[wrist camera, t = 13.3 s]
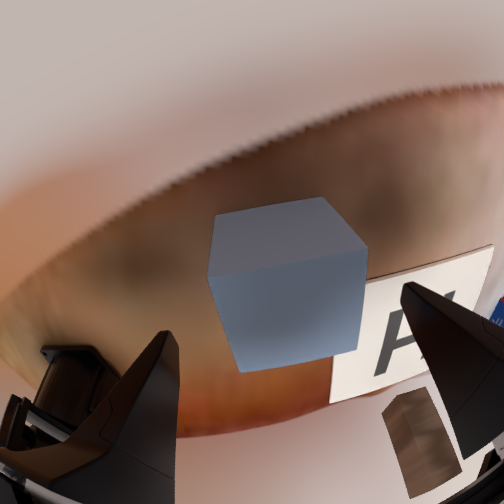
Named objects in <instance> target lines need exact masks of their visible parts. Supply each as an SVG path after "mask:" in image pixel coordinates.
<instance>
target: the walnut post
mask: <svg viewBox="0 0 504 504" xmlns="http://www.w3.org/2000/svg"><path fill="white" fill-rule="evenodd" d="M382 416H383V419H384V422H385V424H386V427H387V430H388V432H389V435H390V438H391V441H392V444H393V447H394V450H395V453H396V456H397V459H398V462H399V465H400V468H401V472H402V475H403V478H404V481H405V484H406V488H407V491H408V495H409V498H410V499H411V498H414V497H417V496H419V495H421V494H424V493H426V492H428V491H431V490H433V489H435V488H436V487H438V486H440V485H442V484H443V483H445V482H447V481H448V480H450V479H452V478H453V477H455V476H457V475H458V474H460V473H461V472H462V469H461V467H460V464H459V461H458V458H457V456H456V453H455V451H454V448H453V446H452V443H451V441H450V439H449V436H448V434H447V432H446V429H445V427H444V425H443V422H442V420H441V418H440V416H439V414H438V412H437V409H436V407H435V405H434V403H433V401H432V399H431V397H430V395H429V393H428V391H427V389H426V387H423V388H419V389H416V390H413V391H410V392H407V393H403V394H400V395H397V396H396V397H395V398H394V399H393V401H392V402H391V403H390V404H389V405H388V407H387V408H386V409H385V410H384V412H382Z"/></svg>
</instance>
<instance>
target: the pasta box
mask: <svg viewBox="0 0 504 504" xmlns="http://www.w3.org/2000/svg"><path fill="white" fill-rule="evenodd" d="M489 320H490V321H491V322H493V323H495V324H497V325H499V326H502V327H504V297H503V298H500V300H499V302H498V304H497V306H496V308H495V310H494V312H493V314H492V316H491V318H490V319H489Z"/></svg>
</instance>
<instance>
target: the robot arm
mask: <svg viewBox="0 0 504 504" xmlns="http://www.w3.org/2000/svg"><path fill="white" fill-rule="evenodd" d="M400 304H401V307H402V309H403V312H404V314H405V317H406V319H407V322H408V324H409V327H410V330H411V332H412V334H413V337H414V339H415V341H416V343H417V345H418V347H419V349H420V351H421V353H422V355H423V357H424V359H425V361H426V364H427V366H428V368H429V370H430V372H431V374H432V377H433V379H434V381H435V384H436V386H437V388H438V390H439V393H440V395H441V398H442V400H443V403H444V405H445V408H446V410H447V413H448V415H449V418H450V421H451V424H452V427H453V430H454V433H455V436H456V438H457V442H458V444H459V448H460V450H461V454H462V457H463V459H464V460H465V459H466V458H468V457H470V456H471V455H473V454H474V453H476V452H477V451H479V450H480V449H481V448H483V447H484V446H486V445H487V444H488V443H490V442H491V441H492V442H493V444H494V447H495V448H494V449H492V450H491V451H490V452H488V453H487V454H486V455H485V457H484V460H483V463H482V466H481V469H480V472H479V474H478V477H477V479H476V480H475V481H474V482H472V483H471V484H470V485H468V486H467V487H465V488H464V489H462V490H461V491H459V492H457V493H456V494H454V495H453V496H451V497H449V498H447V499H446V500H444V501H442V502H440V503H439V504H504V327H502V326H499V325H497V324H495V323H493V322H491V321H490V320H488V319H486V318H484V317H482V316H481V317H480V315H478V314H476V313H475V312H473V311H471V310H469V309H467V308H465V307H463V306H461V305H459V304H458V303H456V302H454V301H452V300H450V299H448V298H446V297H444V296H442V295H440V294H438V293H436V292H434V291H432V290H430V289H428V288H426V287H424V286H422V285H420V284H418V283H416V282H414V281H410V282H407V283H404V284H403V287H402V292H401V297H400ZM40 352H41V354H42V355H43V356H44V357H45V359H46V360H47V361H48V362H49V363H50V364H49V366H48V369H47V371H46V373H45V375H44V378H43V380H42V382H41V385H40V387H39V389H38V392H37V394H36V397H35V399H34V402H33V403H31V401H30V400H29V399H27V398H26V397H23V398H22V399H21V398H20V397H17V396H16V395H13V394H12V395H11V397H10V399H9V401H8V404H7V406H6V409H5V412H4V415H3V418H2V421H1V425H0V470H1V471H2V472H4V473H5V474H3V473H1V472H0V504H175V480H174V479H175V451H176V430H177V414H178V401H179V388H180V373H179V347H178V344H177V342H176V340H175V338H174V336H173V334H172V333H171V331H169V330H165V331H160V332H158V334H157V335H156V336H155V337H154V338H153V340H152V341H151V342H150V343H149V344H148V346H147V347H146V348H145V349H144V350H143V352H142V353H141V354H140V355H139V357H138V358H137V359H136V360H135V361H134V363H133V364H132V365H131V366H130V368H129V369H128V370H127V371H126V373H125V374H124V375H123V376H122V377H121V379H120V380H119V378H118V377H117V376H116V375H115V374H114V373H113V371H112V370H111V369H110V368H109V367H108V365H107V364H106V363H105V362H104V360H103V359H102V358H101V357H100V355H99V354H98V353H97V351H96V350H95V349H94V348H92V347H90V346H70V347H46V346H43V347H42V348H41V350H40ZM25 421H28V422H29V423H30V424H32V426H31V427H29V426H27V425H26V424H25Z"/></svg>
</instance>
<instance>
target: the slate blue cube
mask: <svg viewBox="0 0 504 504" xmlns="http://www.w3.org/2000/svg"><path fill="white" fill-rule="evenodd" d="M367 262H368V247H367V245H366V244H365V243H364V242H363V241H362V240H361V238H360V237H359V236H358V235H357V234H356V233H355V231H354V230H353V229H352V228H351V227H350V226H349V225H348V223H347V222H346V221H345V220H344V219H343V218H342V217H341V216H340V215H339V213H338V212H337V211H336V210H335V209H334V208H333V207H332V206H331V205H330V204H329V203H328V201H327V200H326V199H325V198H324V197H323V196H322V197H316V198H309V199H303V200H297V201H291V202H285V203H279V204H273V205H267V206H262V207H256V208H251V209H245V210H240V211H235V212H230V213H224V214H219V215H216V216H215V222H214V229H213V236H212V242H211V250H210V257H209V264H208V272H207V280H208V283H209V286H210V289H211V293H212V296H213V299H214V302H215V305H216V307H217V310H218V313H219V316H220V319H221V322H222V325H223V328H224V331H225V333H226V336H227V339H228V342H229V345H230V347H231V350H232V353H233V355H234V358H235V361H236V364H237V366H238V369H239V372H240V373H245V372H252V371H259V370H265V369H271V368H277V367H283V366H288V365H293V364H298V363H303V362H308V361H313V360H317V359H322V358H326V357H330V356H334V355H338V354H342V353H346V352H350V351H354V350H357V346H358V340H359V333H360V327H361V320H362V312H363V304H364V295H365V286H366V275H367Z"/></svg>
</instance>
